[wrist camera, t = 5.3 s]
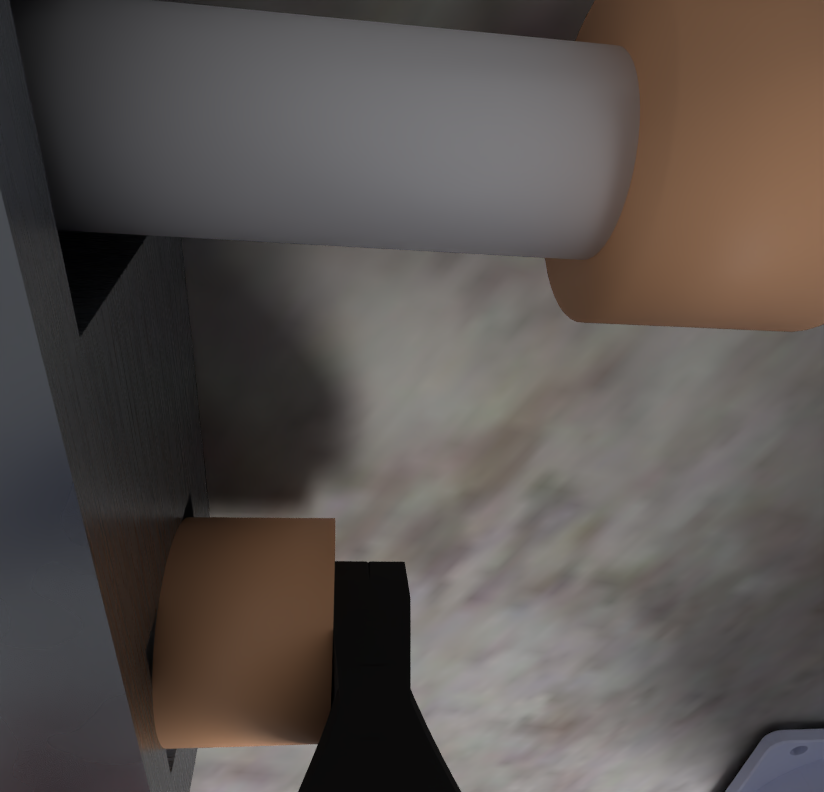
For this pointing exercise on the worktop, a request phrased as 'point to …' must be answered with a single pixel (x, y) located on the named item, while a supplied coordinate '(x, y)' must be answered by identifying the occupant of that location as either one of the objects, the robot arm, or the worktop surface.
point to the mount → (85, 477)
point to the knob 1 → (244, 633)
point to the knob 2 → (459, 143)
